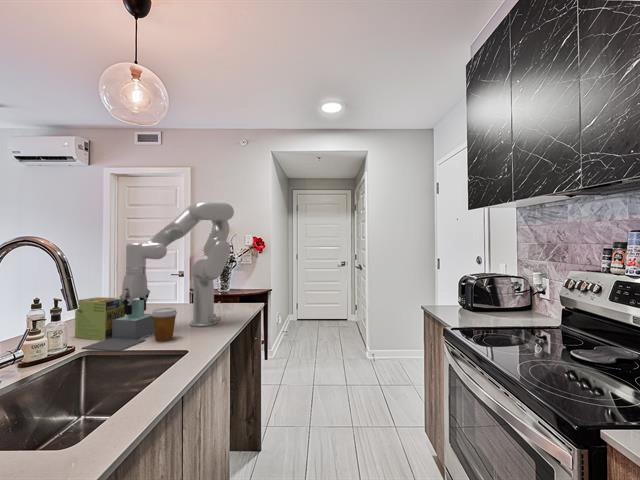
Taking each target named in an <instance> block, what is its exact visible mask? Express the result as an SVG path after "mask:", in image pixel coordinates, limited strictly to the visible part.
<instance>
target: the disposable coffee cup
mask: <svg viewBox="0 0 640 480" xmlns="http://www.w3.org/2000/svg"><path fill="white" fill-rule="evenodd" d="M151 314H152V316H153V322H154V330H155V333H154V335H155V341H156V342H168V341H171V340H173V338H174V333H175V331H174V330H175V324H176V316H177V314H178V311H177V309H176V308H174V307H163V308H157V309H154V310H153V311H152V313H151Z"/></svg>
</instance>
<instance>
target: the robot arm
mask: <svg viewBox="0 0 640 480" xmlns="http://www.w3.org/2000/svg"><path fill="white" fill-rule="evenodd" d="M234 214H235V211H234V208H233V206H232V205H231V204H229V203H225V202H210V201H209V202H208V201H207V202H203V201H202V202H196V203H192V204H190V205H188V206H187V207H186V209H183V211H182V212H181V213H180V214H179V215H178V216H177V217H175V218H174V219H173V220H172V221H171V222H169V224H167V225H165V227H164V228H163V229H161V230H159V231H158V232H156V234H155V235H153V236H152V237H151V238H150V239H149V240H148V241H147V242H146V243H144V242H128V243H127V244H126V245H125V275H124V276H123V281H122V286H121V287H122V290H121V294H120V295H119V297H118V298H120V299H121V302H122V303H123V305H124V314H125V316H127V315H131V314H132V305H131V302H132V300H137V299H138V300H144V312H146V311H147V302H148V298H149V296H150V293H151V290H149V288H148V279H147V259H148V260H161V259H163V258H164V257H166V255H167V253H168V250H167V247H168V246H169V245H170V244H171V243H173V242H175V241H177V240H179V239H181V238H183V237H185V236H186V235H187V234H189V233H190V232H191V230H193V228H195V227H196V226H197V225H198V224H199V223H200V222H202V221H211V223H212V226H211V227H212V228H211V230H210V233H209V235H208V238H207V239H206V242H205V244H204V246H203V250H202V251H203V254H204V256H206V257H207V258H202V259H198V260H196V261H195V262H194V263H193V265H192V267H191V274H192V275H191V276H192V282H193V285H192V287H193V291H192V293H193V304H192V305H193V306H192V307H193V309H192V310H193V313H192V319H193V320H191V321H190V322H189V326H191V327H197V328H198V327H199V328H200V327H210V326H214V325H216V324H217V323H218V322H221V321H222V320H221V319H222V318H221V316H217V313H214V312H215V306H214V305H215V301H214V300H215V284H214V280H216V279H218V278H220V276H221V275H222V273H223V271H224V269H225V266H226V264H227V262H228V260H229V257H230V254H231V246H230V243H229V242H228V241H227V239H228V237H229V234H230V225H229V220H231V219H232V218H233V217H234ZM128 301H129V302H128Z"/></svg>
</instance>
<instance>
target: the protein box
mask: <svg viewBox="0 0 640 480" xmlns="http://www.w3.org/2000/svg"><path fill="white" fill-rule="evenodd" d="M79 305H80V308H79V309H77V310H75V309H74V310H75V311H74V312H75V313H74V338H76V339H85V340H86V339H87V340H88V339H90V340H101V341H103V340H106V339H109V338H112V320H113V319H117V318H120V317H124V316H126V315H125V314H124V305H123V303H122V302H121V299H120V298H119V297H103V296H102V297H101V296H100V297H99V296H98V297H92V298H91V297H90V298H85V299H83V298H82V299H79Z"/></svg>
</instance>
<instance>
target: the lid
mask: <svg viewBox="0 0 640 480" xmlns="http://www.w3.org/2000/svg"><path fill="white" fill-rule="evenodd" d="M128 302H129V300H128ZM131 305H132V314H131V315H125V316H126V317H122V318H119V319H115V320H129V321H137V320H140V319H143V318H146V317H149V316H152V313H145V311H144V300H140V299H133V300H132V302H131Z"/></svg>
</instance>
